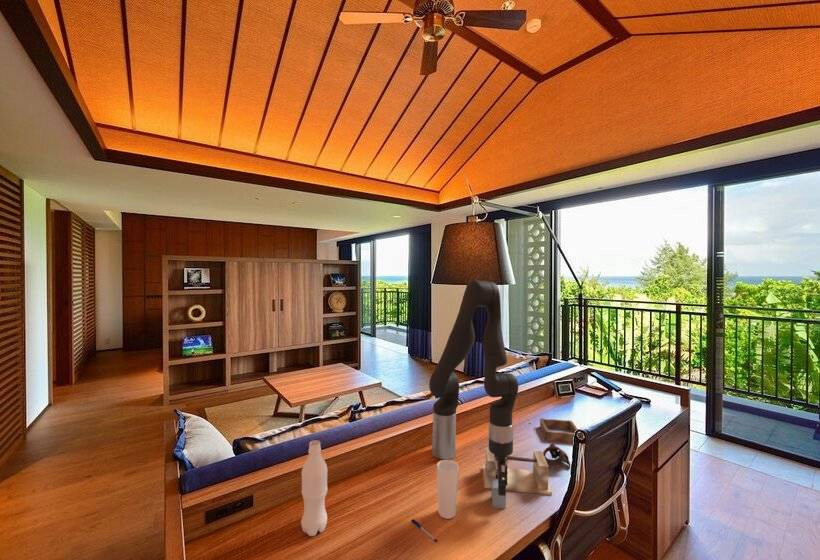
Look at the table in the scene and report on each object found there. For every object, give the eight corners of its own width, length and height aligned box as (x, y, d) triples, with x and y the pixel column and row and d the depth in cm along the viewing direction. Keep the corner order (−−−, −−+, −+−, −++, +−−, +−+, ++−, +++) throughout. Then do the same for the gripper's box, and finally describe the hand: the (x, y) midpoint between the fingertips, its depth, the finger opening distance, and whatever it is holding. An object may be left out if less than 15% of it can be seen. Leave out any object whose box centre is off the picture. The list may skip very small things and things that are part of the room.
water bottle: (329, 520, 104) (330, 436, 103) (324, 538, 96) (324, 449, 96) (304, 520, 103) (305, 436, 103) (298, 539, 96) (298, 449, 95)
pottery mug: (576, 474, 130) (568, 457, 128) (552, 482, 131) (544, 466, 129) (564, 450, 141) (557, 434, 139) (542, 458, 143) (534, 442, 141)
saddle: (492, 507, 110) (492, 487, 110) (491, 497, 115) (491, 478, 115) (505, 508, 110) (506, 489, 110) (503, 498, 115) (504, 479, 114)
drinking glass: (443, 503, 112) (444, 457, 111) (462, 512, 108) (463, 464, 107) (431, 514, 107) (432, 466, 106) (450, 525, 102) (451, 474, 102)
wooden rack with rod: (484, 487, 120) (484, 462, 120) (482, 468, 132) (483, 444, 132) (551, 495, 117) (552, 468, 116) (543, 474, 128) (544, 450, 128)
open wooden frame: (546, 440, 154) (546, 431, 154) (539, 426, 168) (539, 418, 168) (581, 443, 152) (581, 434, 152) (571, 429, 166) (571, 420, 166)
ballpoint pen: (410, 522, 104) (410, 518, 104) (412, 520, 104) (412, 517, 104) (436, 543, 96) (436, 539, 96) (438, 541, 96) (438, 538, 96)
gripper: (487, 426, 119) (486, 473, 120) (490, 446, 105) (490, 499, 106) (509, 427, 118) (509, 475, 119) (516, 448, 104) (516, 502, 105)
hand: (500, 486), depth 112 cm, fingers open, 8 cm apart
